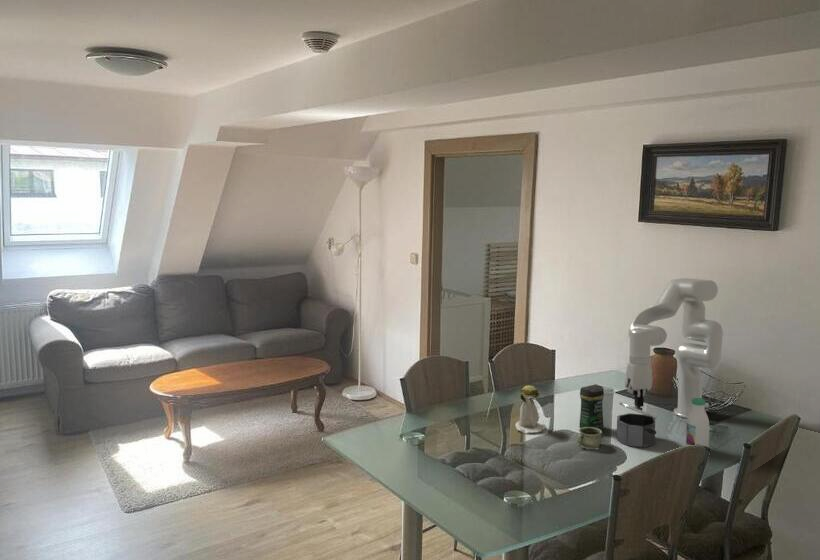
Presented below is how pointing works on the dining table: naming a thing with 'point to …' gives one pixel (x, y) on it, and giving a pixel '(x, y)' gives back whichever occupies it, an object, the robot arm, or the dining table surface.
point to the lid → (638, 410)
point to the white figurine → (529, 411)
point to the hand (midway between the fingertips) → (638, 405)
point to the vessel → (590, 437)
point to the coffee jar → (591, 406)
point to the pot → (636, 430)
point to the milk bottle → (697, 424)
